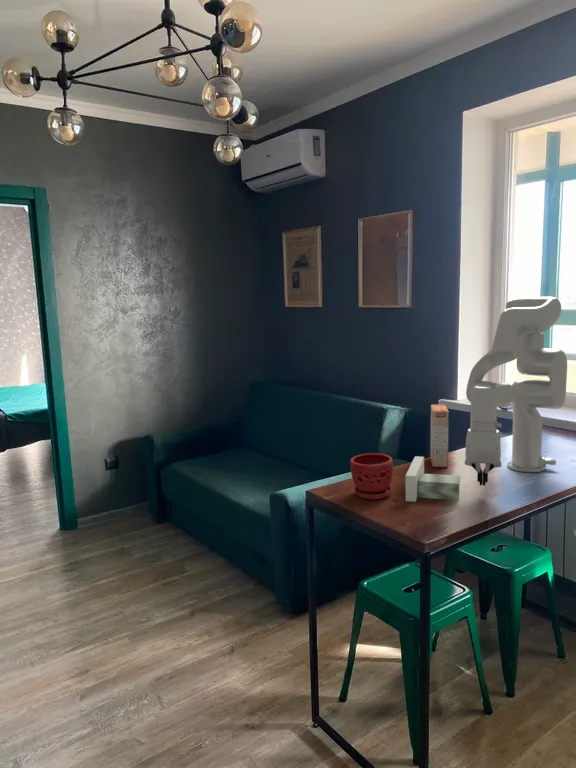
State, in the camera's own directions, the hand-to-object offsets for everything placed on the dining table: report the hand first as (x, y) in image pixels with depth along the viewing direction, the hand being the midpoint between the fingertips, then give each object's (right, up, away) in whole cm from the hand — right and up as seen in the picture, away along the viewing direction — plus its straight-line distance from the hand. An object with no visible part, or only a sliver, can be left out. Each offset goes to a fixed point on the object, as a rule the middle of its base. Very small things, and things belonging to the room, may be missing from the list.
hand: (482, 484), depth 176 cm
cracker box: (-4, +1, +36) cm, 37 cm away
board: (-19, -3, +7) cm, 21 cm away
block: (-13, -4, +2) cm, 14 cm away
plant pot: (-34, -4, +4) cm, 34 cm away
